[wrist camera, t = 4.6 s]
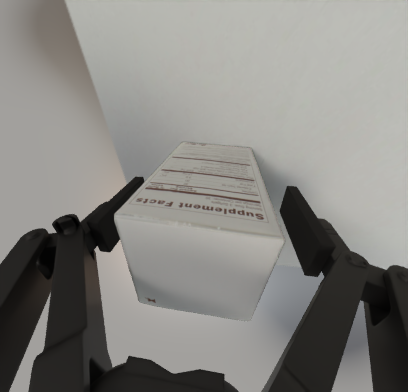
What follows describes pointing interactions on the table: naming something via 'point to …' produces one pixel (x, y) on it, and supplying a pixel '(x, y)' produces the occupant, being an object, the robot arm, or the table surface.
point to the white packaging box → (202, 232)
